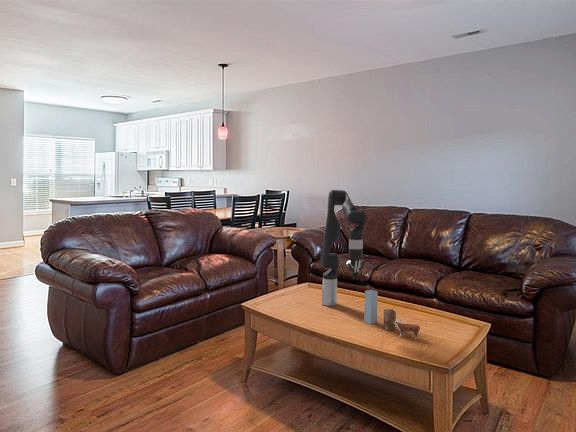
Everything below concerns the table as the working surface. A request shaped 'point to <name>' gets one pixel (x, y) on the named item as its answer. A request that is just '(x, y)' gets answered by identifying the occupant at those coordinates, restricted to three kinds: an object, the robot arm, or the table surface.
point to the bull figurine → (407, 328)
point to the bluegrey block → (370, 306)
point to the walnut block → (389, 319)
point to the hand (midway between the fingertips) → (355, 278)
